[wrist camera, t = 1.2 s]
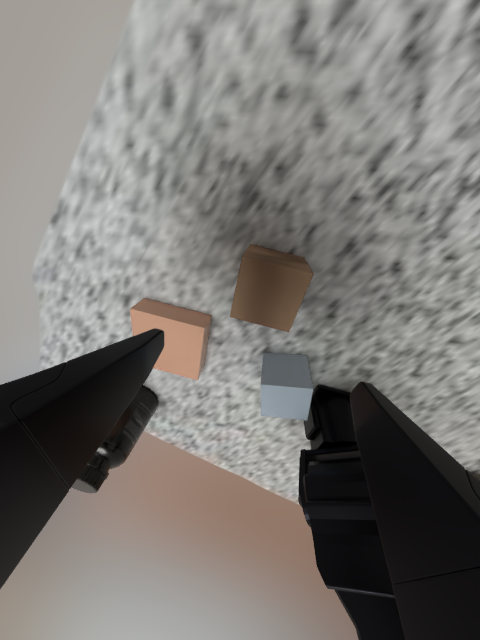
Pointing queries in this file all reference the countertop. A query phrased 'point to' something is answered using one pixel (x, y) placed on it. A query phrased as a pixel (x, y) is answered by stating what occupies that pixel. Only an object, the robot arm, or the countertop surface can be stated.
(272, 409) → the slate-blue cube
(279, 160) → the countertop surface
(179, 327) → the base block
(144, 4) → the countertop surface
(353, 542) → the robot arm
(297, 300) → the walnut cube
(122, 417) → the supplement bottle
